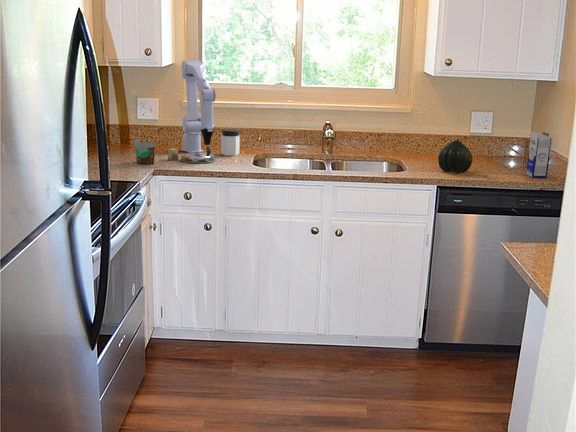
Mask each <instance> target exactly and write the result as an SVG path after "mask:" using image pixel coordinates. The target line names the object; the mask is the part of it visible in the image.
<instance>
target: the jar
mask: <svg viewBox="0 0 576 432" xmlns="http://www.w3.org/2000/svg"><path fill="white" fill-rule="evenodd" d="M221 131H222V133H221V136H220V141H221V142H220V143H221V144H220V154H221V156H222V155H223V156H227V157H231V156H232V157H236V156H239V155H240V143H241V142H240V140H241V139H240V137H241V136H240V130H239V129H235V128H224V129H222V130H221Z"/></svg>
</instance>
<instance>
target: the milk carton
mask: <svg viewBox="0 0 576 432" xmlns="http://www.w3.org/2000/svg"><path fill="white" fill-rule="evenodd" d="M529 140H530V142H529V148H528V157H527V164H526V171H525V175H526V176H527V177H530V178H532V179H547V178H548V172H549V165H550V157H551V150H552V143H553V137H551V136H550V133H548V132H545V131H542V133H539V132H537V131H533V130H531V134H530V139H529Z"/></svg>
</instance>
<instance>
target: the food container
mask: <svg viewBox="0 0 576 432" xmlns="http://www.w3.org/2000/svg"><path fill="white" fill-rule="evenodd" d="M133 146H134V150H135V157H136V159H135V160H136V164H137V165H143V166H144V165H145V166H147V165H148V166H151V165H152V166H153V165H155V154H156V153H155V151H156V150H155V149H156V146H157V145H156V142H148V141H141V139H140V138H139V139H135V140H134V141H133Z"/></svg>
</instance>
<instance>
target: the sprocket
mask: <svg viewBox="0 0 576 432" xmlns="http://www.w3.org/2000/svg"><path fill="white" fill-rule="evenodd" d="M181 159H183V160H184V161H193V162H198V161H205V162H207V161H210V160H214V159H215V160H216V158H215V155H213V153H212V147H211V146H206V153H205V152H195V153H190V152H186V154H183V153H182V154H180V160H181Z"/></svg>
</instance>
